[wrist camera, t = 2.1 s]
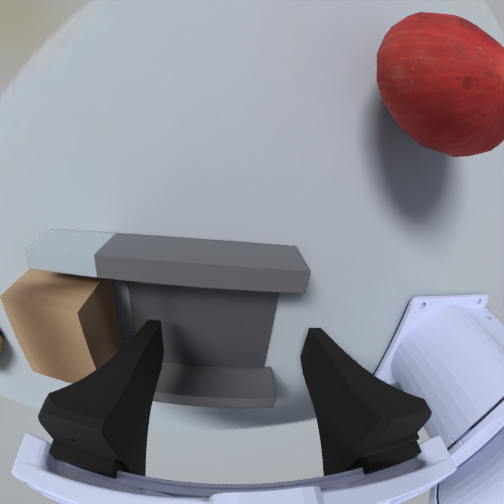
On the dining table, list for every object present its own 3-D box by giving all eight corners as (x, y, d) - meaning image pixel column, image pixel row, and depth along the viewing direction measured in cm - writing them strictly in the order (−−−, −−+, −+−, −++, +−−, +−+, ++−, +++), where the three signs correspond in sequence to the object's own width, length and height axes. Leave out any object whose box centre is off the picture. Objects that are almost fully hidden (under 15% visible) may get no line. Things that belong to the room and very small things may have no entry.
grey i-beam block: (296, 246, 13) (310, 271, 10) (268, 377, 16) (273, 407, 14) (51, 229, 11) (24, 247, 9) (82, 357, 15) (70, 383, 12)
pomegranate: (345, 22, 8) (455, -51, 1) (438, 60, 9) (553, 49, 2) (341, 133, 11) (487, 148, 3) (435, 157, 11) (559, 196, 4)
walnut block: (110, 267, 13) (77, 312, 9) (124, 341, 14) (105, 391, 11) (39, 260, 12) (0, 296, 8) (59, 329, 14) (32, 370, 10)
